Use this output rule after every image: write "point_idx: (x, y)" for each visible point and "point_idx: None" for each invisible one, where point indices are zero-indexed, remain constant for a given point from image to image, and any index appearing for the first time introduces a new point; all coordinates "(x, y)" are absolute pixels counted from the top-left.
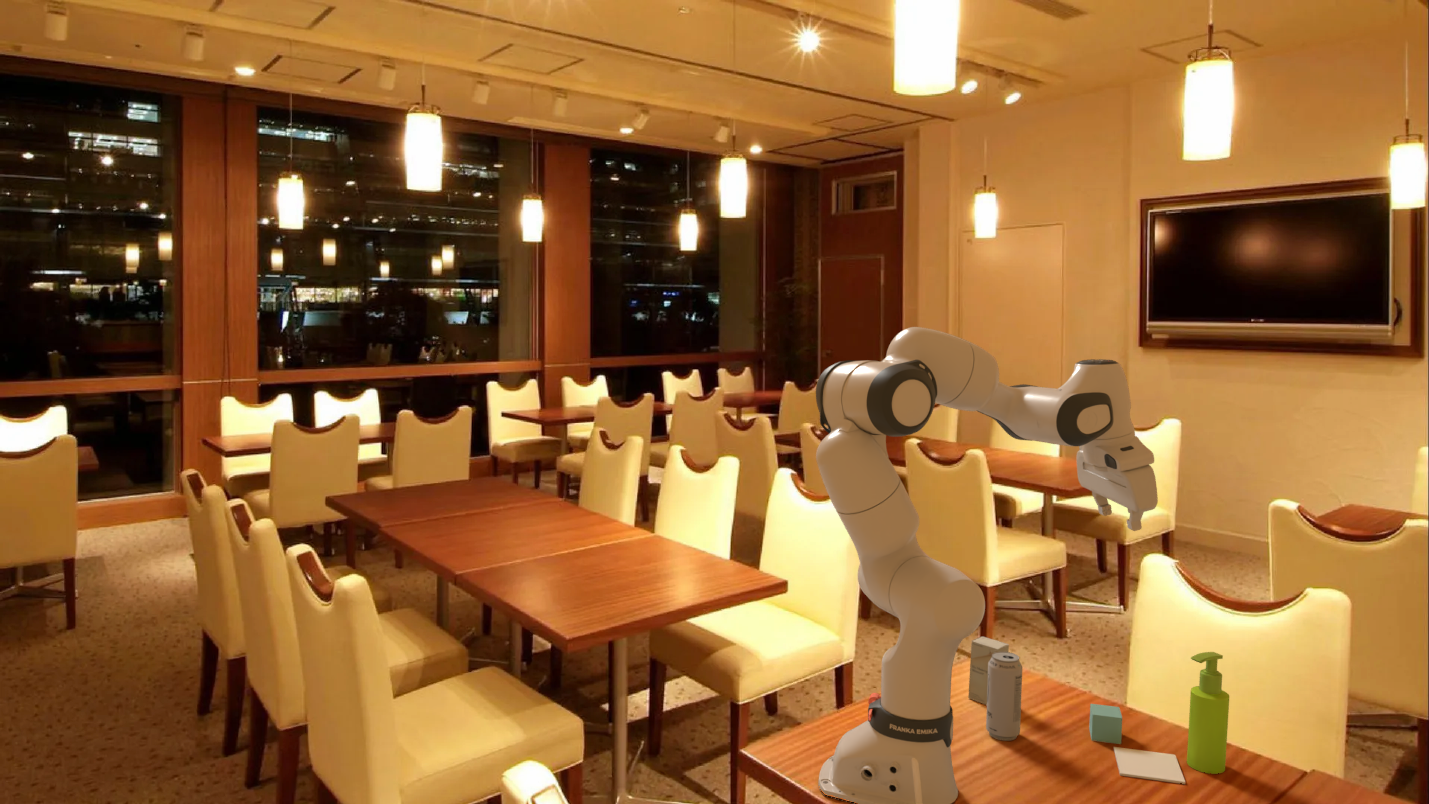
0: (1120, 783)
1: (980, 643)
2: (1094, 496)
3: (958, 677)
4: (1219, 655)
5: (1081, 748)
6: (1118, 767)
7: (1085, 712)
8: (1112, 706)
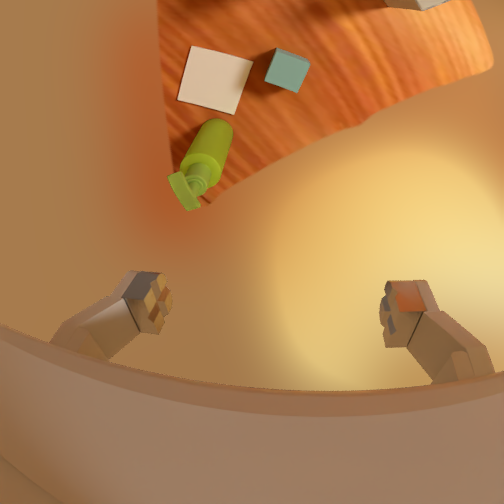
0: (176, 41)
1: None
2: (468, 347)
3: (458, 4)
4: (184, 207)
5: (256, 28)
6: (206, 49)
7: (350, 77)
8: (299, 85)
